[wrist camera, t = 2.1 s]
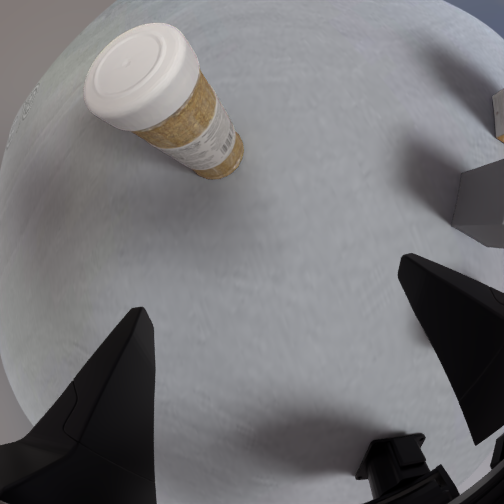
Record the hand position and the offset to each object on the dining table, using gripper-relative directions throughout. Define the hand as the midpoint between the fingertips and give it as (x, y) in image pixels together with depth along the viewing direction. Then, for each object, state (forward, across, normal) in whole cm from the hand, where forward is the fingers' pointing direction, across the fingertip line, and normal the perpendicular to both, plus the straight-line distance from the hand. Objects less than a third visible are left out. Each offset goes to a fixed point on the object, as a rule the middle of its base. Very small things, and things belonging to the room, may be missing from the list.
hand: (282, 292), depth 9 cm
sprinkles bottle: (+15, +1, -1) cm, 16 cm away
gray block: (+8, -20, +3) cm, 22 cm away
